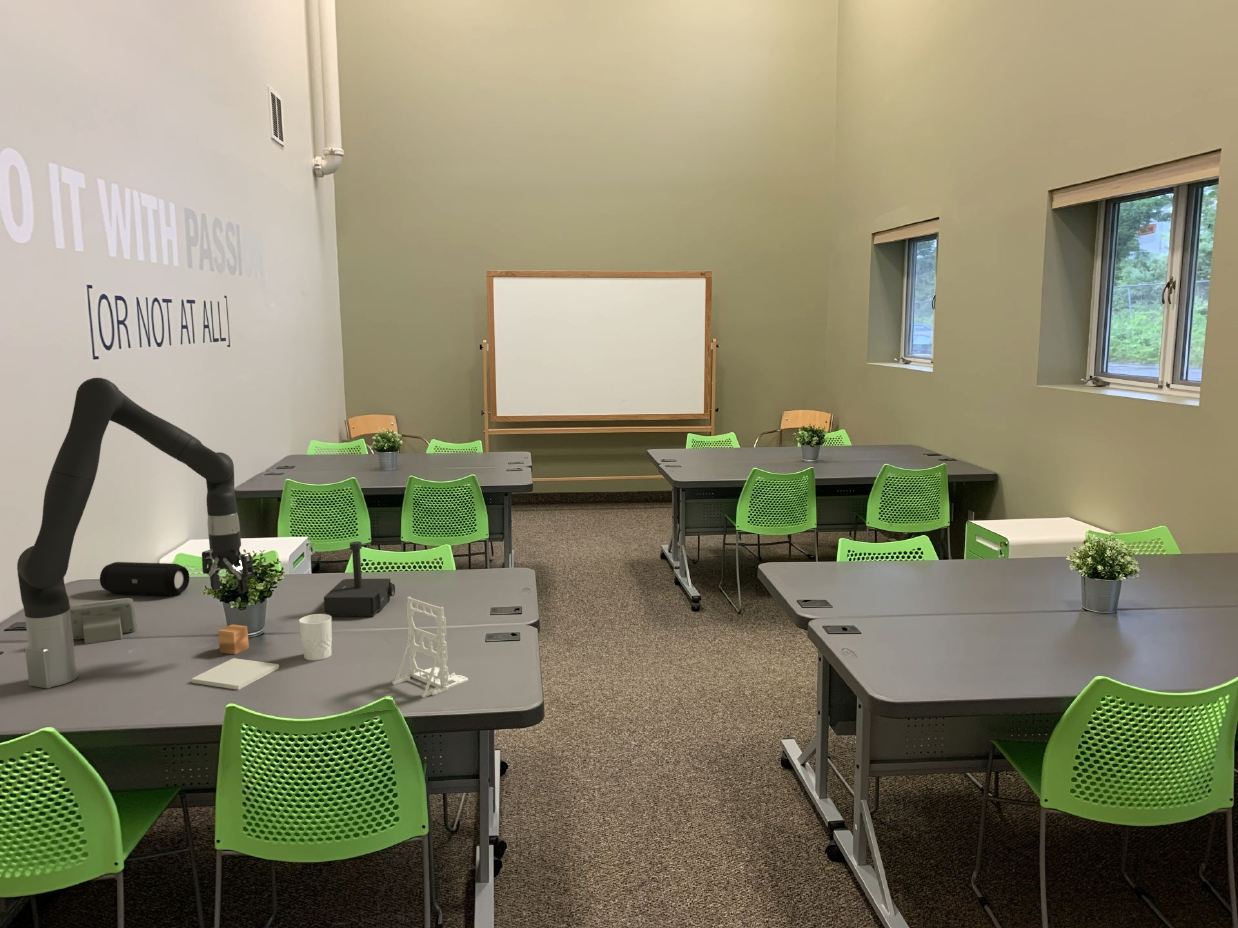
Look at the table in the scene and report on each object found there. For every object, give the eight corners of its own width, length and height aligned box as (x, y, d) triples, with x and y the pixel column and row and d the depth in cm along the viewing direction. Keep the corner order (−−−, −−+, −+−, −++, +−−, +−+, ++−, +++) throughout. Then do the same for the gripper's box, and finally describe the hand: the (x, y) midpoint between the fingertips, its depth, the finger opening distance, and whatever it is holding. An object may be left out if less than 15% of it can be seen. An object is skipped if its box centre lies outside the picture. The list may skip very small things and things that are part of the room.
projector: (381, 617, 268) (377, 550, 264) (323, 618, 268) (319, 551, 265) (398, 597, 286) (394, 535, 283) (344, 598, 287) (340, 535, 284)
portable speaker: (99, 597, 291) (96, 566, 290) (120, 587, 301) (117, 558, 299) (173, 599, 287) (170, 568, 286) (192, 590, 297) (189, 560, 295)
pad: (238, 689, 217) (238, 685, 216) (191, 682, 221) (191, 678, 221) (278, 668, 230) (278, 664, 229) (233, 661, 234) (233, 658, 234)
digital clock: (140, 629, 260) (136, 593, 258) (131, 640, 251) (127, 602, 249) (76, 634, 256) (72, 598, 254) (65, 646, 247) (61, 608, 246)
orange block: (235, 654, 240) (233, 632, 239) (219, 652, 241) (218, 630, 240) (248, 647, 244) (247, 626, 243) (233, 645, 246) (231, 624, 245)
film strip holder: (473, 680, 220) (470, 600, 217) (426, 699, 210) (421, 614, 207) (436, 666, 230) (432, 588, 226) (389, 682, 219) (384, 602, 216)
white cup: (301, 652, 240) (298, 616, 238) (332, 648, 243) (330, 612, 241) (302, 663, 233) (299, 625, 231) (334, 658, 235) (332, 621, 234)
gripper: (191, 532, 236) (197, 592, 239) (235, 535, 232) (241, 597, 234) (212, 525, 243) (218, 584, 246) (256, 528, 239) (261, 589, 241)
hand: (229, 591), depth 240 cm, fingers open, 8 cm apart
